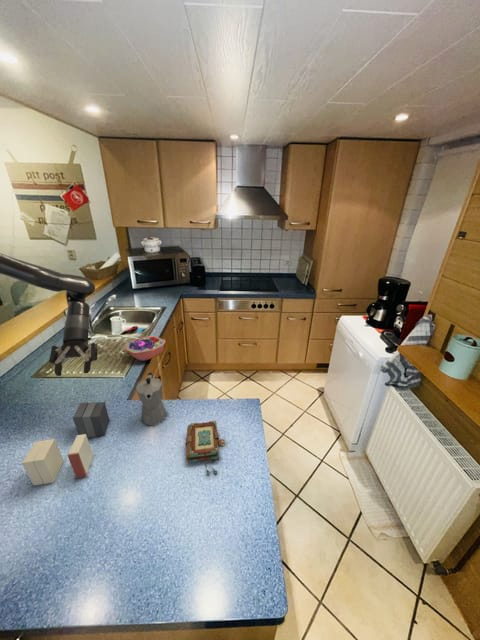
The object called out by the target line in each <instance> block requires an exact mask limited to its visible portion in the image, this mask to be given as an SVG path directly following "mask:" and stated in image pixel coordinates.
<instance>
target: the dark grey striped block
mask: <svg viewBox="0 0 480 640" xmlns="http://www.w3.org/2000/svg"><path fill="white" fill-rule="evenodd" d="M72 420H73V423H74V426H75V428H76V431H77V435H83V434H86V435H87V438H95V437H103V436H105V435H106V432H107V429H108V426H109V424H110V416H109V414H108V408H107V405H106V402H105V401H101V402H100V401H99V402H97V401H95V402H88V401H87V402H86V401H85V402H80V403H79V405H78V406H77V409H76V411H75V412H74V415H73V416H72Z"/></svg>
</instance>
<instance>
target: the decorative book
mask: <svg viewBox="0 0 480 640" xmlns="http://www.w3.org/2000/svg"><path fill="white" fill-rule="evenodd" d="M217 427H218V424H217V420H210V421H207V422H199V423H198V422H190V424H188V425H187V428H186V438H185V448H186V451H185V452H186V453H185V459H186V461H187V462H190V463H198V462H199V461H205V462H204V463H205V464H204V466H205V469H206V475H210V470H208V468H207V464H209V462H208V461H209V460H218V459H220V448H219V446H220V447H224V446H225V444H226V441H225V439H223V438H220V435H219V432H218V430H217ZM210 467H211V468H212V471H213V473H214V475H217V473H218V471H217V470H215V469H214V467H213V466H211V465H210Z"/></svg>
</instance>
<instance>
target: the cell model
mask: <svg viewBox="0 0 480 640" xmlns="http://www.w3.org/2000/svg"><path fill="white" fill-rule="evenodd" d="M165 344H166V339H164V338H161V337H159V336H154V335H153V336H152V335H146V336H142V337H139V338H134V339H132V340H130V341H128V342H127V343H126V344H125V349H126V351H127V353H128V354H129V355H130V356H131V357H133V358H134V359H136V360H138V361H141V362H143V361H148V360H152V359H154V358H157V357H158V356H159V355H161V354H163V352H164V348H165Z"/></svg>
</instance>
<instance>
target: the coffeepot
mask: <svg viewBox="0 0 480 640" xmlns="http://www.w3.org/2000/svg"><path fill="white" fill-rule="evenodd" d="M135 390H136V393H137V396H138V398H139V401H140V402H141V420H142V422H143V423H144V425H148V426H154V425H155V426H156V425H157V424H159V423H161V422H163V421H164V419H165V418H166V416H167V410H166V409H165V406H164V403H163V401H162V398H163V382H162V381H161V379H160V378H157V377H153V373H152V372H148V373H147V378H145V379H142V380H141V381H139V382H138V384H137V385H136V387H135Z"/></svg>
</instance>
